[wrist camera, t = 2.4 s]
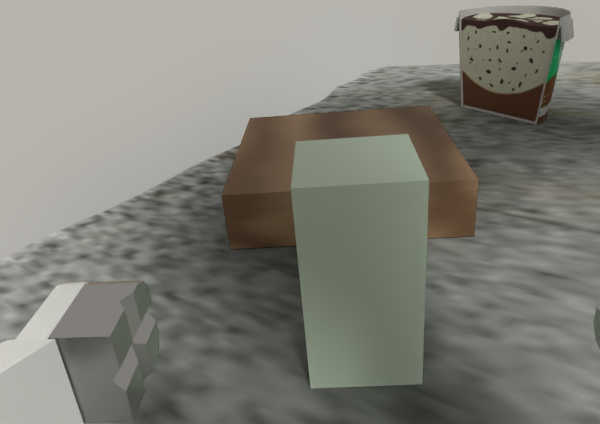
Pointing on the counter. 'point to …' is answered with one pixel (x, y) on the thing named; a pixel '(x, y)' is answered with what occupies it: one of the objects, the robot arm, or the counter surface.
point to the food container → (511, 58)
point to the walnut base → (288, 129)
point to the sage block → (361, 259)
